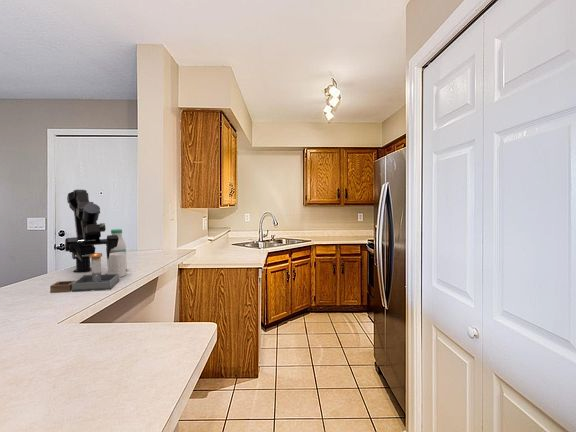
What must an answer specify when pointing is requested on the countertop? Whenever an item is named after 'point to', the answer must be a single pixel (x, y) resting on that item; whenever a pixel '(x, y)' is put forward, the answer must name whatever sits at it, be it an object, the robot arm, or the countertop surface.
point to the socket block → (61, 286)
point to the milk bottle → (121, 244)
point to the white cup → (117, 263)
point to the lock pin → (96, 266)
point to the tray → (95, 283)
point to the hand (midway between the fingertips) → (95, 259)
